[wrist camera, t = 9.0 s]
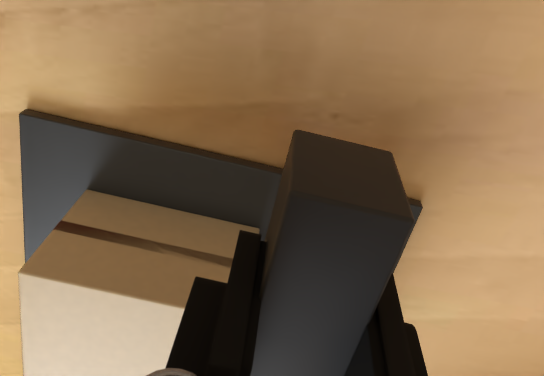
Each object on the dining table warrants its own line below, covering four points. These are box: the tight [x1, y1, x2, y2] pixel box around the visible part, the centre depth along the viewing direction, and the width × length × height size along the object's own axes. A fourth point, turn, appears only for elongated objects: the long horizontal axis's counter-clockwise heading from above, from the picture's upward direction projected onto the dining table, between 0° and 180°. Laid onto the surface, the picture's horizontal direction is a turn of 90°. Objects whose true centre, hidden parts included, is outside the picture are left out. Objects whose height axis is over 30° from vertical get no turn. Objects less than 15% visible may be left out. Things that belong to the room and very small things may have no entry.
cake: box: [18, 109, 423, 376], centre depth 23 cm, size 18×18×7 cm
